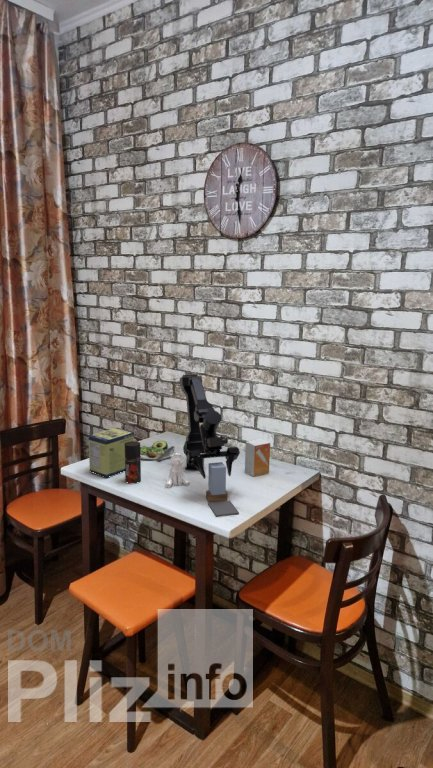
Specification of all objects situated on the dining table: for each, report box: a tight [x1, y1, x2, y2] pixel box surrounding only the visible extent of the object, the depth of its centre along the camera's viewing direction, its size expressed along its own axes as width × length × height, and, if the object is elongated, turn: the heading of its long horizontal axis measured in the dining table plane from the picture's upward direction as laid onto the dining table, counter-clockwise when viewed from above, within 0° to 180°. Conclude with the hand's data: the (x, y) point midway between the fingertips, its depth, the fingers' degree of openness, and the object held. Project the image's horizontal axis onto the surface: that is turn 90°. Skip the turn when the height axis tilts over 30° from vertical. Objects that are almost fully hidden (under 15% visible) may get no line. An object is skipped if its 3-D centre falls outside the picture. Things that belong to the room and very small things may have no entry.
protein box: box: [88, 427, 135, 478], centre depth 212 cm, size 10×16×16 cm
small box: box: [244, 438, 271, 477], centre depth 212 cm, size 8×6×13 cm
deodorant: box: [124, 440, 142, 484], centre depth 201 cm, size 6×6×15 cm
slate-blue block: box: [207, 461, 227, 495], centre depth 185 cm, size 5×5×10 cm
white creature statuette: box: [164, 452, 191, 489], centre depth 200 cm, size 10×9×12 cm
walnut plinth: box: [205, 489, 229, 504], centre depth 186 cm, size 4×7×3 cm, turn 106°
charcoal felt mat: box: [207, 500, 240, 518], centre depth 179 cm, size 10×8×1 cm
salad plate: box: [140, 440, 175, 462], centre depth 232 cm, size 19×18×5 cm
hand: (217, 476), depth 184 cm, fingers open, 9 cm apart
